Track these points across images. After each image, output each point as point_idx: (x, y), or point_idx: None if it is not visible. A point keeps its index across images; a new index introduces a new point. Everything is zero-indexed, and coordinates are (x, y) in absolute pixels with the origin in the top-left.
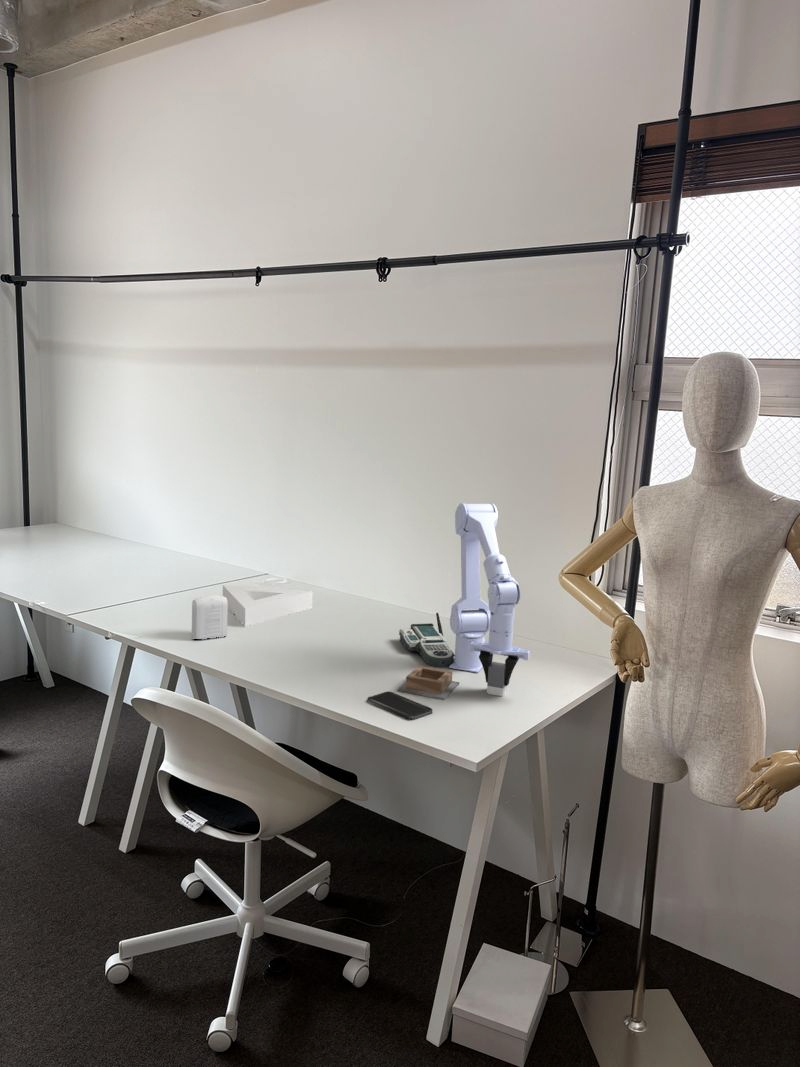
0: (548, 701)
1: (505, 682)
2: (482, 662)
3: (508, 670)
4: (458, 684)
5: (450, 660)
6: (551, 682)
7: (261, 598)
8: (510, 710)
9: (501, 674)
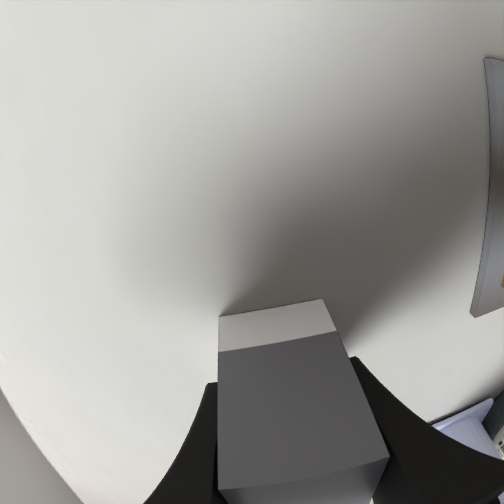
0: (31, 369)
1: (214, 397)
2: (459, 453)
3: (183, 484)
4: (473, 303)
5: (494, 420)
6: (153, 486)
7: None
8: (61, 134)
9: (244, 436)
